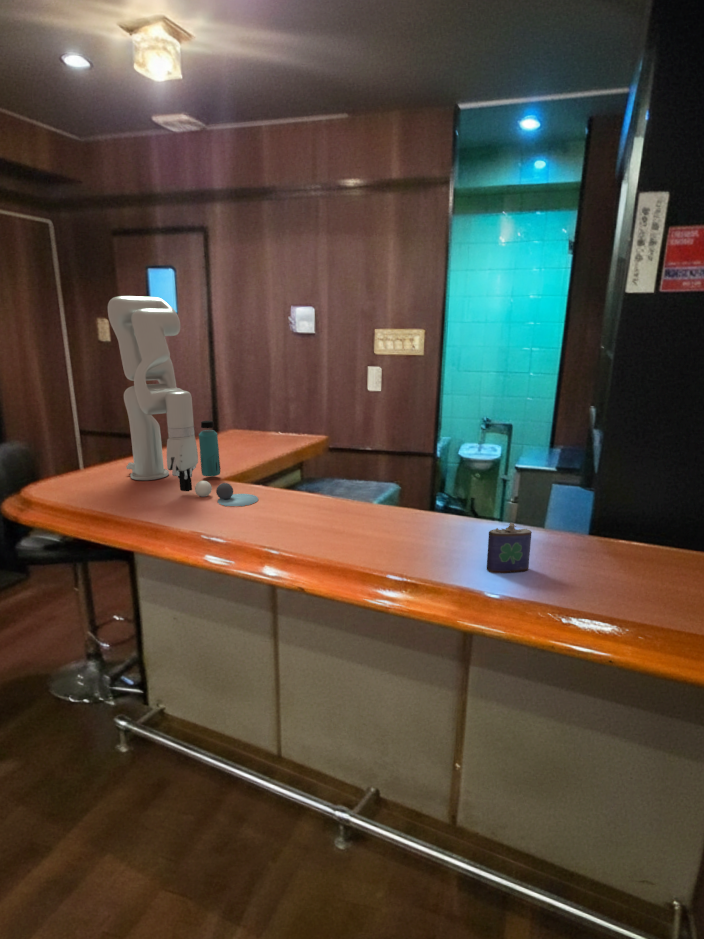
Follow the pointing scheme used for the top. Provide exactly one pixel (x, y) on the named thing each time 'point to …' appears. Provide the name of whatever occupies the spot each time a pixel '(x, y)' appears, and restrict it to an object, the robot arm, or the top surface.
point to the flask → (508, 550)
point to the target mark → (239, 500)
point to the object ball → (224, 491)
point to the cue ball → (203, 488)
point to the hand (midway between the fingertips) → (186, 490)
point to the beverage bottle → (209, 450)
